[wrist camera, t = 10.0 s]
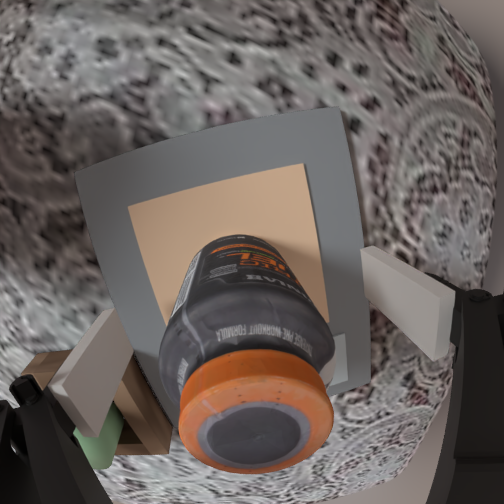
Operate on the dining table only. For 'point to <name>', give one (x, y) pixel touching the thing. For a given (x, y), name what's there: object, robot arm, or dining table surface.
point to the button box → (121, 406)
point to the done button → (103, 440)
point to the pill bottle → (247, 360)
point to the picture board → (233, 225)
